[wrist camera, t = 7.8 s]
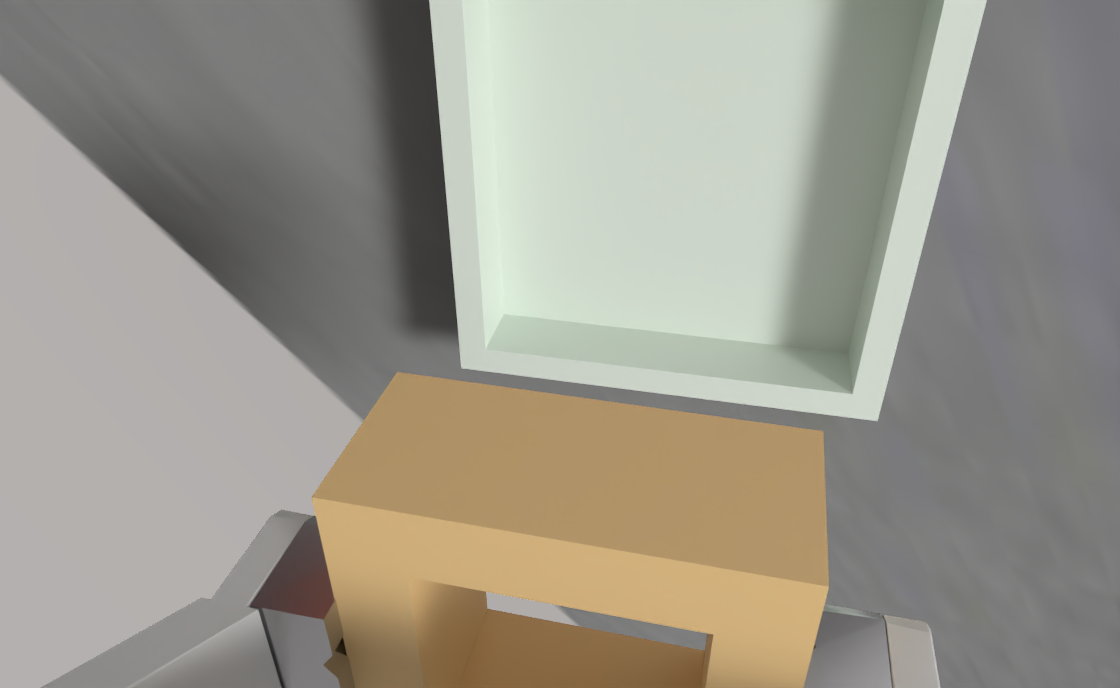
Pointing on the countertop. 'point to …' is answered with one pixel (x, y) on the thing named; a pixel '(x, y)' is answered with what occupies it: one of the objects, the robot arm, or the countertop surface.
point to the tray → (695, 188)
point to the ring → (571, 541)
